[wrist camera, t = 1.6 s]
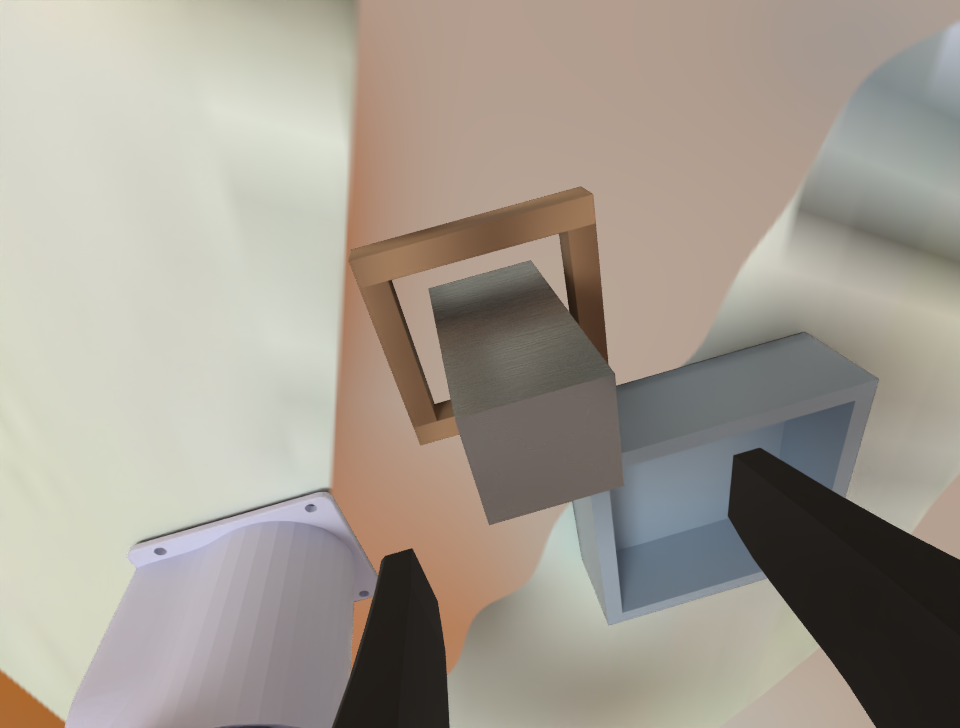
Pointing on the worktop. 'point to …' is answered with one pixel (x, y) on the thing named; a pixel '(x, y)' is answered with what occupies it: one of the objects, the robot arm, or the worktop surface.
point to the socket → (467, 240)
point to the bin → (713, 466)
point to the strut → (526, 393)
